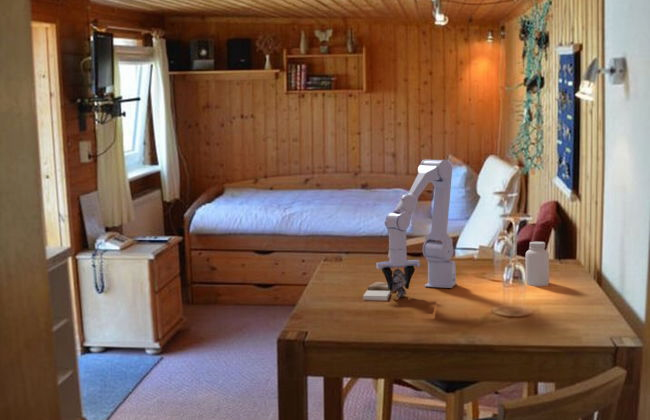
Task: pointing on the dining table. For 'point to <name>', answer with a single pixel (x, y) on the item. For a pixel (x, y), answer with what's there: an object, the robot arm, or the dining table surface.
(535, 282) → the pill bottle
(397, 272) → the seashell
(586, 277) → the dining table surface
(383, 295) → the ceramic tile
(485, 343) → the dining table surface
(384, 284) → the walnut base
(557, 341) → the dining table surface
